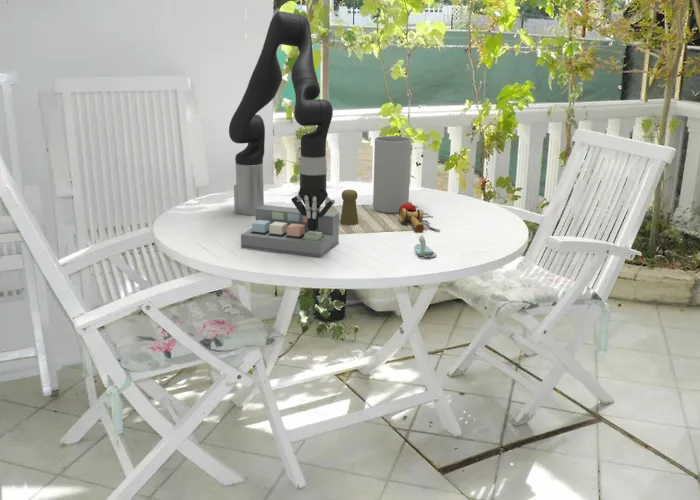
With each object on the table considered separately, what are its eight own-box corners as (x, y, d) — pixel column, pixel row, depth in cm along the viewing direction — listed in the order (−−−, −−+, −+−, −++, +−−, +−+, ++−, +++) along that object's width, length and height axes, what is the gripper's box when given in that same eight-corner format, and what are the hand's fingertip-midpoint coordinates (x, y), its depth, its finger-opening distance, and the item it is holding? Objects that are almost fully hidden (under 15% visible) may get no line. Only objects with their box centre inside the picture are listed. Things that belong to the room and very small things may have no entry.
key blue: (252, 235, 223) (252, 223, 222) (258, 231, 226) (257, 219, 225) (264, 236, 222) (264, 224, 220) (270, 233, 225) (270, 221, 224)
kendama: (432, 235, 242) (417, 214, 258) (431, 218, 239) (415, 197, 255) (409, 240, 241) (395, 218, 257) (407, 223, 238) (393, 201, 254)
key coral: (286, 239, 219) (286, 226, 218) (292, 235, 223) (292, 223, 222) (299, 241, 218) (299, 228, 217) (304, 237, 222) (304, 224, 221)
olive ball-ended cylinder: (356, 225, 246) (356, 192, 243) (338, 224, 248) (338, 191, 244) (359, 220, 252) (360, 188, 249) (342, 219, 253) (342, 187, 250)
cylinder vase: (367, 206, 270) (368, 137, 263) (398, 203, 275) (400, 135, 268) (382, 215, 259) (384, 142, 252) (414, 212, 264) (417, 140, 257)
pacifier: (431, 251, 222) (412, 251, 221) (433, 231, 220) (413, 231, 219) (439, 259, 215) (419, 259, 214) (441, 238, 213) (421, 238, 212)
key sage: (304, 247, 218) (304, 234, 217) (309, 243, 222) (309, 231, 221) (317, 248, 217) (317, 236, 216) (322, 244, 221) (322, 232, 219)
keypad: (241, 247, 222) (240, 216, 219) (263, 234, 235) (262, 204, 232) (320, 257, 214) (320, 225, 211) (338, 243, 228) (338, 212, 225)
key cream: (269, 237, 221) (269, 225, 220) (275, 233, 225) (274, 221, 224) (282, 238, 220) (281, 226, 219) (287, 235, 223) (287, 222, 222)
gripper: (286, 171, 211) (286, 231, 217) (330, 176, 207) (329, 236, 213) (296, 166, 218) (296, 224, 223) (339, 170, 214) (338, 229, 219)
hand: (312, 230), depth 218 cm, fingers closed
